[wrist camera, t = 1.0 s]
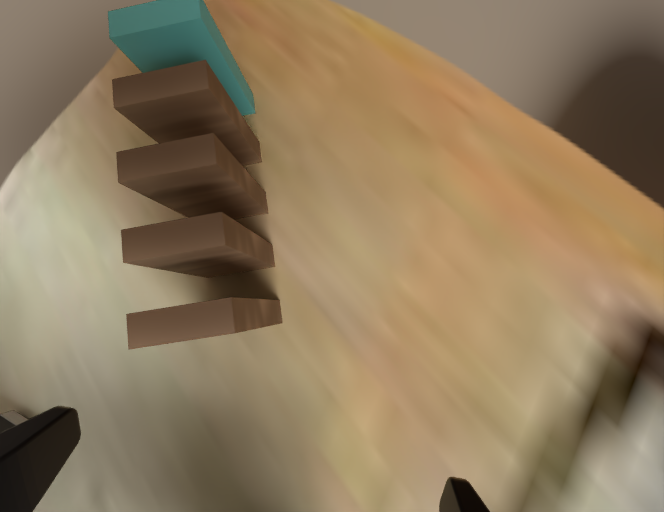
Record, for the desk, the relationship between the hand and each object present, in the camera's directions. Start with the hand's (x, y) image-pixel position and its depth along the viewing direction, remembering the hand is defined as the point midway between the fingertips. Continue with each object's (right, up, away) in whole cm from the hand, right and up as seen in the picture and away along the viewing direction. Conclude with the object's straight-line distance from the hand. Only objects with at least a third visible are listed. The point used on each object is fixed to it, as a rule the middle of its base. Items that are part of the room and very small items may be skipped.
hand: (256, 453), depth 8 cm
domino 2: (-5, +4, +17) cm, 18 cm away
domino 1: (-4, 0, +16) cm, 17 cm away
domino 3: (-6, +8, +18) cm, 20 cm away
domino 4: (-6, +12, +18) cm, 23 cm away
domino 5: (-7, +16, +19) cm, 26 cm away
